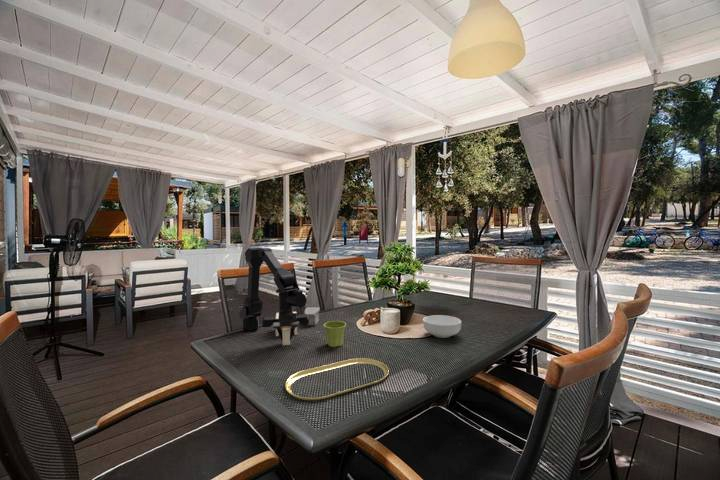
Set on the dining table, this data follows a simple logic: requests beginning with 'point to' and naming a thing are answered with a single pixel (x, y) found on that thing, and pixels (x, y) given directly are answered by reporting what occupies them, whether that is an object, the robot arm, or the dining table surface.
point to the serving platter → (332, 366)
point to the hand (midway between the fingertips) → (286, 340)
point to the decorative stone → (312, 315)
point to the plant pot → (334, 332)
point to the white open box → (276, 329)
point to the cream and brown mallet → (286, 335)
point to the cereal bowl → (442, 325)
